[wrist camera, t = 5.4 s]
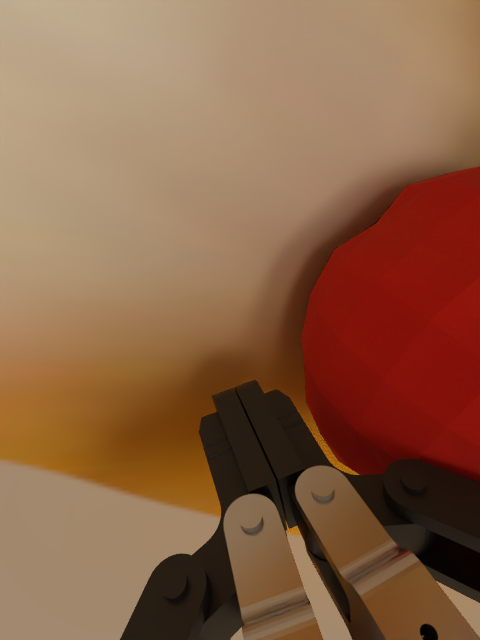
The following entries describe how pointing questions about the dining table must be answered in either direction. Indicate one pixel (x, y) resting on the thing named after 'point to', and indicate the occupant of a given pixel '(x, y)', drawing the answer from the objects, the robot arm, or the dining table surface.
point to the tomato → (402, 334)
